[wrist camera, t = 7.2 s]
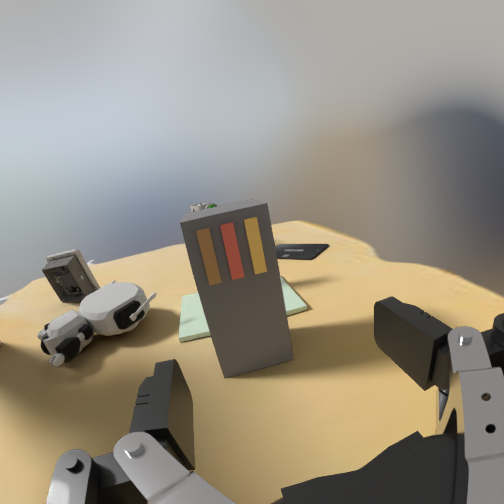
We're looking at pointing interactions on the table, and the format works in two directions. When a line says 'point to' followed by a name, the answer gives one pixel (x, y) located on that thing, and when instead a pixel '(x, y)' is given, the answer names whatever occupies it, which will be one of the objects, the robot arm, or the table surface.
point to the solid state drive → (299, 251)
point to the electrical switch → (70, 276)
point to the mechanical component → (202, 206)
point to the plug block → (239, 284)
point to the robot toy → (94, 320)
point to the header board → (195, 320)
